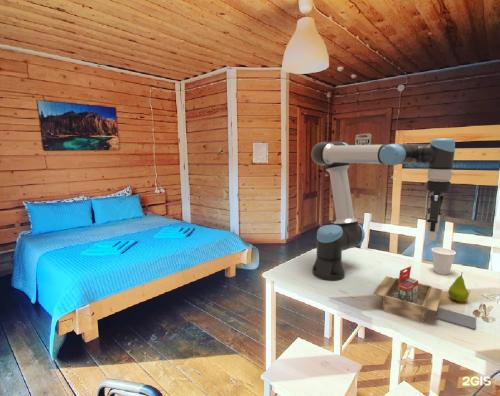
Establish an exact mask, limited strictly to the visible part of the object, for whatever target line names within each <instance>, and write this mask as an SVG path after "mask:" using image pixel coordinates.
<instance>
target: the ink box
mask: <svg viewBox="0 0 500 396" xmlns="http://www.w3.org/2000/svg"><path fill="white" fill-rule="evenodd" d="M411 269H412V266H411V265H410V266H409V267H406V268H403V269H401V270H399V276H398V278H399V290H398V292H397V299H400V300H404V301H407V302H411V303H415V304H418V298H417V295H418V283H419V280H418V279H415V278H412V277H411V273H412V270H411Z"/></svg>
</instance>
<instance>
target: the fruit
mask: <svg viewBox="0 0 500 396" xmlns="http://www.w3.org/2000/svg"><path fill="white" fill-rule="evenodd" d="M447 291H448V292H447V293H448V296H449V298H451V299H452V300H454V301H456V302H459V303H460V302H461V303H463V302H465V301H467V299H468V297H469V294H470V293H469V291H468V289H467V288H466V284H465V280H464V278H463V273H461V274H460V275H459V276H458V277H456V279H455V280H454V282H453V283H452V284H451V285H450V286H449V289H448V290H447Z"/></svg>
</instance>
